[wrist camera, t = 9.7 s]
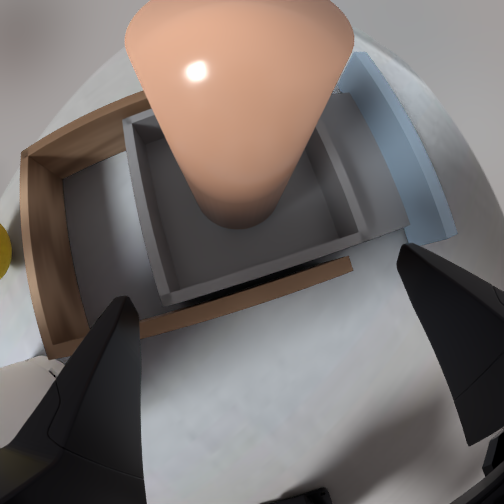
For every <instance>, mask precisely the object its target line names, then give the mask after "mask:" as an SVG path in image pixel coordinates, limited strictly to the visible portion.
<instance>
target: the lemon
mask: <svg viewBox="0 0 504 504" xmlns="http://www.w3.org/2000/svg"><path fill="white" fill-rule="evenodd" d="M11 257H12V247H11V242H10V238H9V236H8V233H7V231H6V230H5V228H4V227H3V226H2V225H1V224H0V279H1V278H2V277H3V276H4V275H5V273H6V272H7V270H8V268H9V265H10V262H11Z"/></svg>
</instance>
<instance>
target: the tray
mask: <svg viewBox="0 0 504 504" xmlns="http://www.w3.org/2000/svg"><path fill="white" fill-rule="evenodd" d="M338 87H339V89H340V90H341V92H342V93H337V94H331V96H330V98H329V100H328V102H327V104H326V106H325V108H324V110H323V112H322V114H321V116H320V118H319V120H318V122H317V125H316V127H315V129H314V131H313V133H312V135H311V137H310V139H309V141H308V143H307V145H306V147H305V149H304V151H303V153H302V155H301V157H300V159H299V161H298V163H297V165H296V167H295V170H294V172H293V174H292V176H291V178H290V180H289V182H288V184H287V186H286V188H285V190H284V192H283V194H282V196H281V198H280V200H279V202H278V204H277V206H276V208H275V210H274V211H273V212H272V214H271V215H270V216H269V217H268V218H267V219H266V220H264V221H263V222H262V223H260V224H258V225H256V226H253V227H250V228H247V229H228V228H224V227H221V226H219V225H217V224H215V223H213V222H212V221H211V220H209V219H208V218H207V217H206V216H205V215H204V214H203V212H202V211H201V210H200V208H199V206H198V204H197V202H196V200H195V198H194V196H193V194H192V192H191V190H190V188H189V186H188V184H187V182H186V180H185V178H184V176H183V173H182V171H181V169H180V167H179V165H178V163H177V161H176V159H175V157H174V155H173V153H172V151H171V148H170V146H169V144H168V142H167V140H166V138H165V136H164V134H163V131H162V129H161V127H160V125H159V123H158V121H157V119H156V116H155V114H154V112H153V110H152V109H149V110H146V111H143V112H141V113H138V114H135V115H133V116H130V117H128V118H125V119H123V120H122V123H123V131H124V138H125V145H126V152H127V158H128V164H129V170H130V176H131V181H132V187H133V192H134V197H135V202H136V207H137V211H138V216H139V221H140V225H141V229H142V234H143V238H144V242H145V246H146V250H147V254H148V257H149V261H150V265H151V269H152V272H153V276H154V279H155V283H156V286H157V290H158V293H159V296H160V300H161V303H162V306H163V307H166V306H170V305H173V304H176V303H180V302H183V301H186V300H190V299H193V298H196V297H199V296H203V295H206V294H209V293H212V292H216V291H219V290H222V289H225V288H228V287H231V286H235V285H238V284H241V283H244V282H247V281H250V280H253V279H256V278H260V277H263V276H266V275H269V274H272V273H275V272H278V271H281V270H284V269H287V268H290V267H293V266H296V265H299V264H302V263H305V262H308V261H311V260H314V259H317V258H319V257H322V256H325V255H328V254H331V253H334V252H337V251H340V250H343V249H345V248H348V247H351V246H354V245H357V244H360V243H362V242H365V241H368V240H371V239H374V238H376V237H379V236H382V235H385V234H387V233H390V232H393V231H396V230H398V229H401V228H404V230H405V233H406V236H407V239H408V242H409V243H414V244H417V245H419V246H421V245H425V244H429V243H433V242H437V241H441V240H445V239H448V238H450V237H452V236H454V235H457V234H458V233H457V230H456V227H455V223H454V220H453V217H452V214H451V211H450V208H449V205H448V203H447V200H446V197H445V195H444V192H443V189H442V187H441V184H440V182H439V179H438V177H437V174H436V172H435V170H434V167H433V165H432V163H431V161H430V159H429V156H428V154H427V152H426V150H425V148H424V146H423V144H422V142H421V140H420V138H419V136H418V134H417V132H416V130H415V128H414V126H413V124H412V122H411V121H410V119H409V117H408V115H407V113H406V112H405V110H404V108H403V107H402V105H401V103H400V101H399V100H398V98H397V97H396V95H395V93H394V92H393V90H392V89H391V87H390V85H389V84H388V82H387V81H386V79H385V78H384V76H383V75H382V73H381V72H380V70H379V69H378V68H377V66H376V65H375V63H374V62H373V61H372V59H371V58H370V57H369V55H368V54H367V53H366V52H354V53H353V55H352V57H351V59H350V61H349V63H348V65H347V67H346V69H345V71H344V73H343V75H342V77H341V79H340V81H339V83H338Z"/></svg>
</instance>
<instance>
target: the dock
mask: <svg viewBox="0 0 504 504" xmlns="http://www.w3.org/2000/svg"><path fill="white" fill-rule="evenodd" d="M149 109H152V108H151V106H150V103H149V101H148V99H147V97H146V95H145V92H144V90H143V91H140V92H138V93H135V94H133V95H130V96H127V97H125V98H122V99H120V100H118V101H115V102H113V103H110V104H108V105H106V106H104V107H101V108H99V109H97V110H95V111H93V112H91V113H89V114H86V115H84V116H82V117H80V118H78V119H76V120H74V121H73V122H71V123H69V124H67V125H65V126H63V127H61V128H60V129H58V130H56V131H54V132H52V133H51V134H49V135H47V136H46V137H44V138H42V139H41V140H39V141H37V142H36V143H34V144H33V145H31V146H30V147H28V148H26V149H25V150H23V151H22V152H21V163H20V216H21V231H22V242H23V251H24V259H25V266H26V272H27V278H28V284H29V289H30V294H31V299H32V304H33V308H34V312H35V316H36V320H37V324H38V328H39V331H40V335H41V338H42V342H43V345H44V348H45V351H46V354H47V357H48V360H53V359H58V358H62V357H67V356H72V354H73V353H74V351H75V350H76V349H77V347H78V346H79V344H80V343H81V342H82V340H83V339H84V337H85V336H86V335H87V333H88V332H89V331H90V328H89V325H88V322H87V318H86V315H85V311H84V308H83V304H82V300H81V296H80V292H79V288H78V284H77V279H76V275H75V270H74V265H73V260H72V255H71V249H70V243H69V237H68V230H67V222H66V214H65V205H64V194H63V180H62V179H64V178H66V177H68V176H70V175H72V174H74V173H76V172H78V171H80V170H82V169H84V168H87V167H89V166H91V165H93V164H95V163H97V162H100V161H102V160H104V159H107V158H109V157H111V156H114V155H116V154H118V153H121V152H123V151H126V145H125V138H124V131H123V123H122V120H123V119H125V118H128V117H130V116H133V115H135V114H138V113H141V112H143V111H146V110H149ZM351 271H353V268H352V265H351V262H350V259H349V256H346V257H342V258H338V259H335V260H331V261H327V262H324V263H320V264H317V265H314V266H312V267H309V268H306V269H303V270H300V271H297V272H294V273H291V274H288V275H285V276H282V277H279V278H276V279H273V280H270V281H267V282H264V283H261V284H258V285H255V286H252V287H249V288H245V289H242V290H239V291H236V292H233V293H230V294H227V295H223V296H220V297H217V298H214V299H211V300H207V301H204V302H201V303H198V304H194V305H191V306H188V307H184V308H181V309H178V310H174V311H171V312H167V313H164V314H161V315H157V316H154V317H150V318H147V319H143V320H140V321H139V328H140V339H143V338H147V337H151V336H154V335H158V334H162V333H165V332H169V331H173V330H176V329H180V328H183V327H187V326H190V325H194V324H197V323H200V322H204V321H207V320H210V319H214V318H217V317H220V316H224V315H227V314H230V313H233V312H236V311H240V310H243V309H246V308H249V307H252V306H255V305H258V304H261V303H264V302H267V301H270V300H273V299H276V298H279V297H282V296H285V295H288V294H291V293H294V292H296V291H299V290H302V289H305V288H308V287H311V286H313V285H316V284H319V283H322V282H324V281H327V280H330V279H333V278H335V277H338V276H341V275H343V274H346V273H348V272H351Z"/></svg>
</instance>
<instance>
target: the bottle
mask: <svg viewBox="0 0 504 504" xmlns="http://www.w3.org/2000/svg"><path fill="white" fill-rule="evenodd" d="M64 366H65V365H64V364H63V363H61V362H60V361H58V360H56V359H53V360H48V357H47V356H41V355H40V356H37V357H33V358H30V359H27V360H25V361H21V362H18V363H14V364H11V365H8V366H5V367H2V368H0V448H2V447H4V446H6V445H7V444H9V443H10V442H11V441H12V440H13V439H14V437H15V436H16V435H17V433H18V432H19V430H20V429H21V428H22V426H23V425H24V423H25V422H26V421H27V419H28V418H29V417H30V415H31V414H32V413H33V411H34V410H35V408H36V407H37V406H38V404H39V403H40V401H41V400H42V398H43V397H44V395H45V394H46V392H47V391H48V390H49V388H50V386H51V385H52V383H53V382H54V380H56V378H55V377H54V376H53V375H52V374H51V373H50V372H49V371H51V372H52V373H53V374H54V375H55V376H56V377H57V376H58V374H59V373H60V372H61V370H62V369H63V367H64Z"/></svg>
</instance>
